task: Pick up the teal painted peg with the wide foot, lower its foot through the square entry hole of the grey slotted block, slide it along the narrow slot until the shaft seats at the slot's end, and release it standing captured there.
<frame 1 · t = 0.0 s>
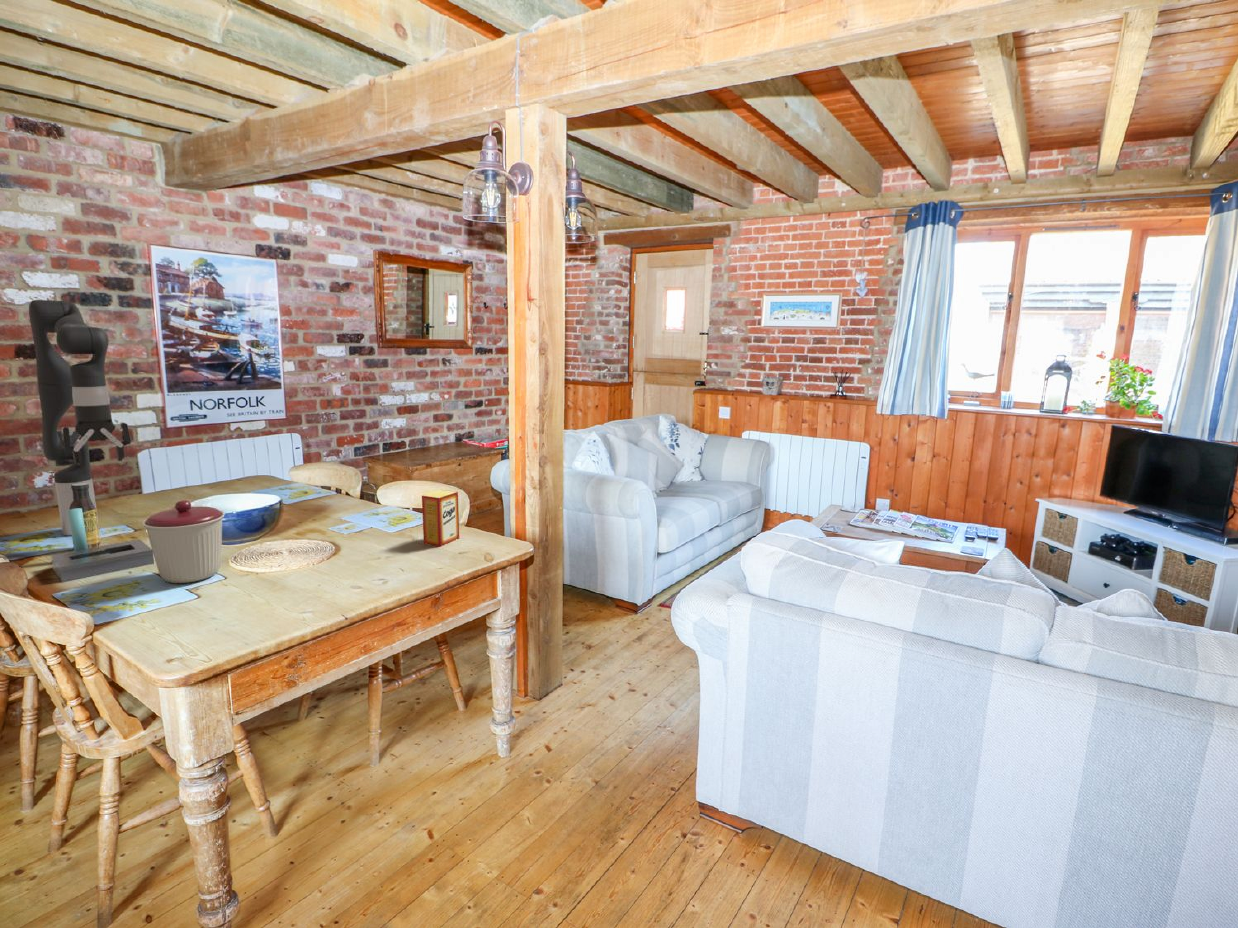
hand: (100, 462, 175), 29 cm above the table, fingers open, 8 cm apart
sauce bottle: (87, 549, 194), on the table
peg: (82, 559, 185), on the table
canister: (191, 577, 173), on the table
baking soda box: (441, 541, 207), on the table
grey slotted block: (104, 566, 180), on the table
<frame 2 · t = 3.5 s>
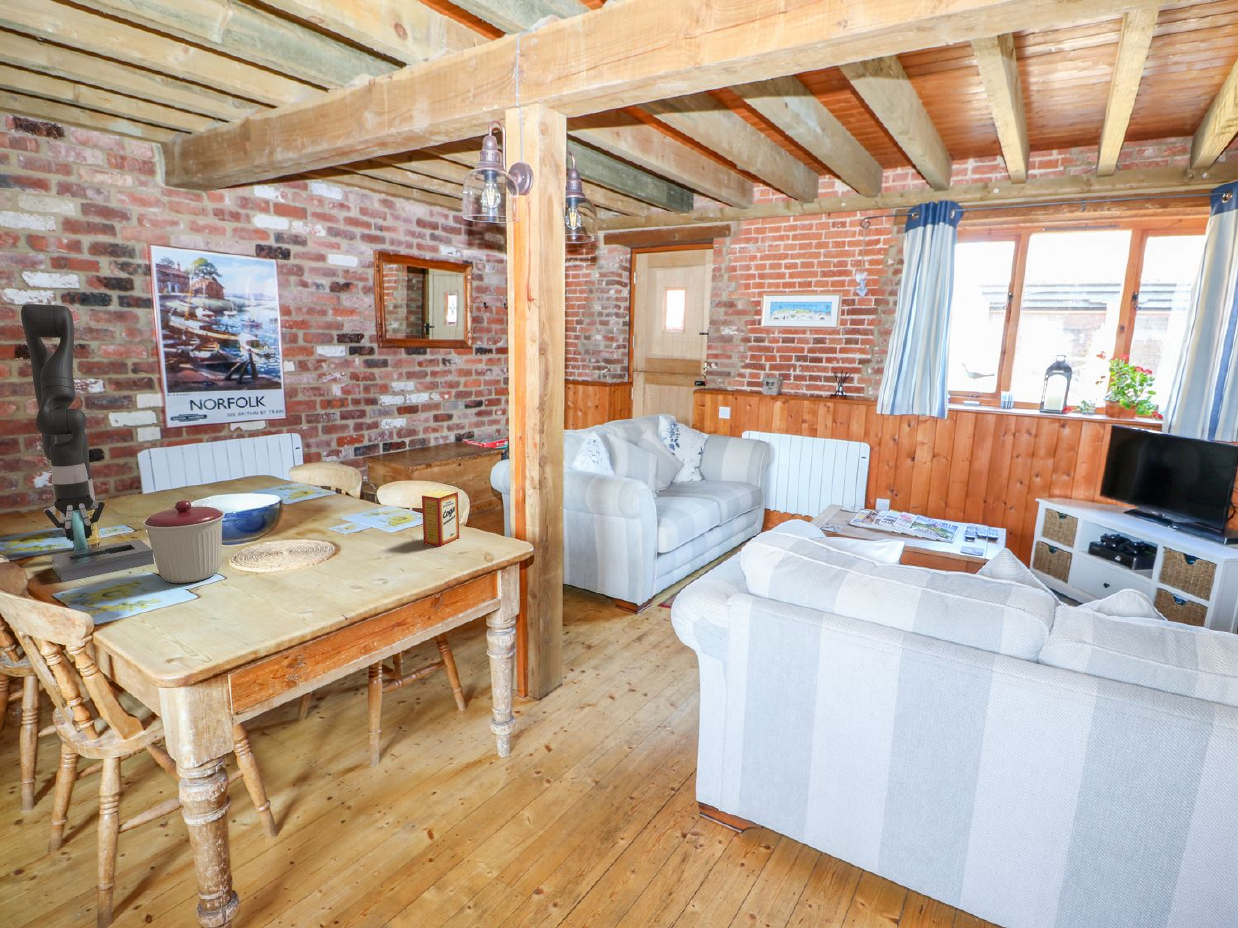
hand: (79, 538, 183), 6 cm above the table, fingers closed on peg, 3 cm apart
peg: (82, 559, 185), on the table, touching gripper
everything else where it was.
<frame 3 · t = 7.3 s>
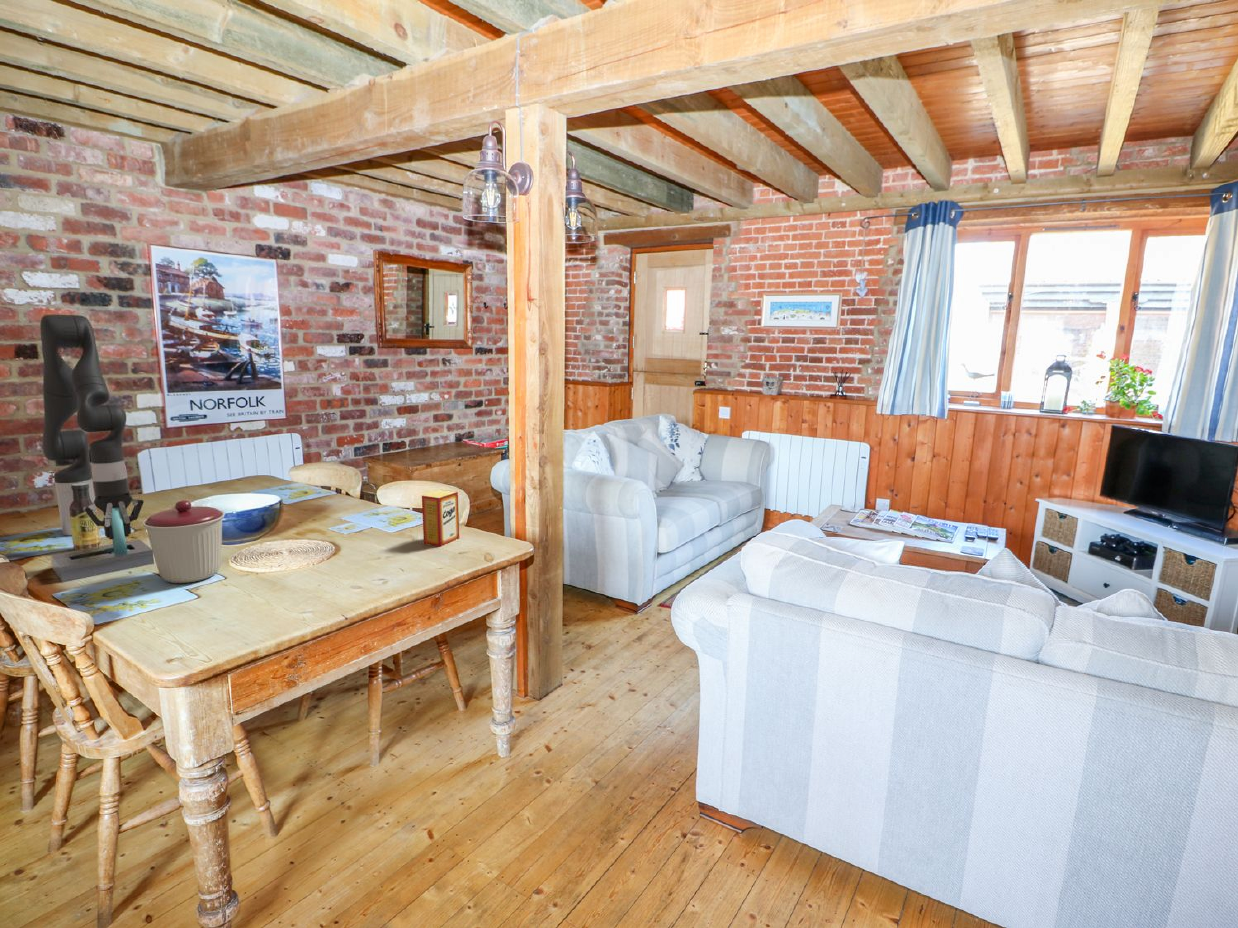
hand: (118, 537, 181), 8 cm above the table, fingers closed on peg, 3 cm apart
peg: (121, 557, 182), point 1 cm above the table, touching gripper
everything else where it was.
when the fingers open (7 cm above the table, at t = 11.1 s): peg stays where it is, resting in grey slotted block.
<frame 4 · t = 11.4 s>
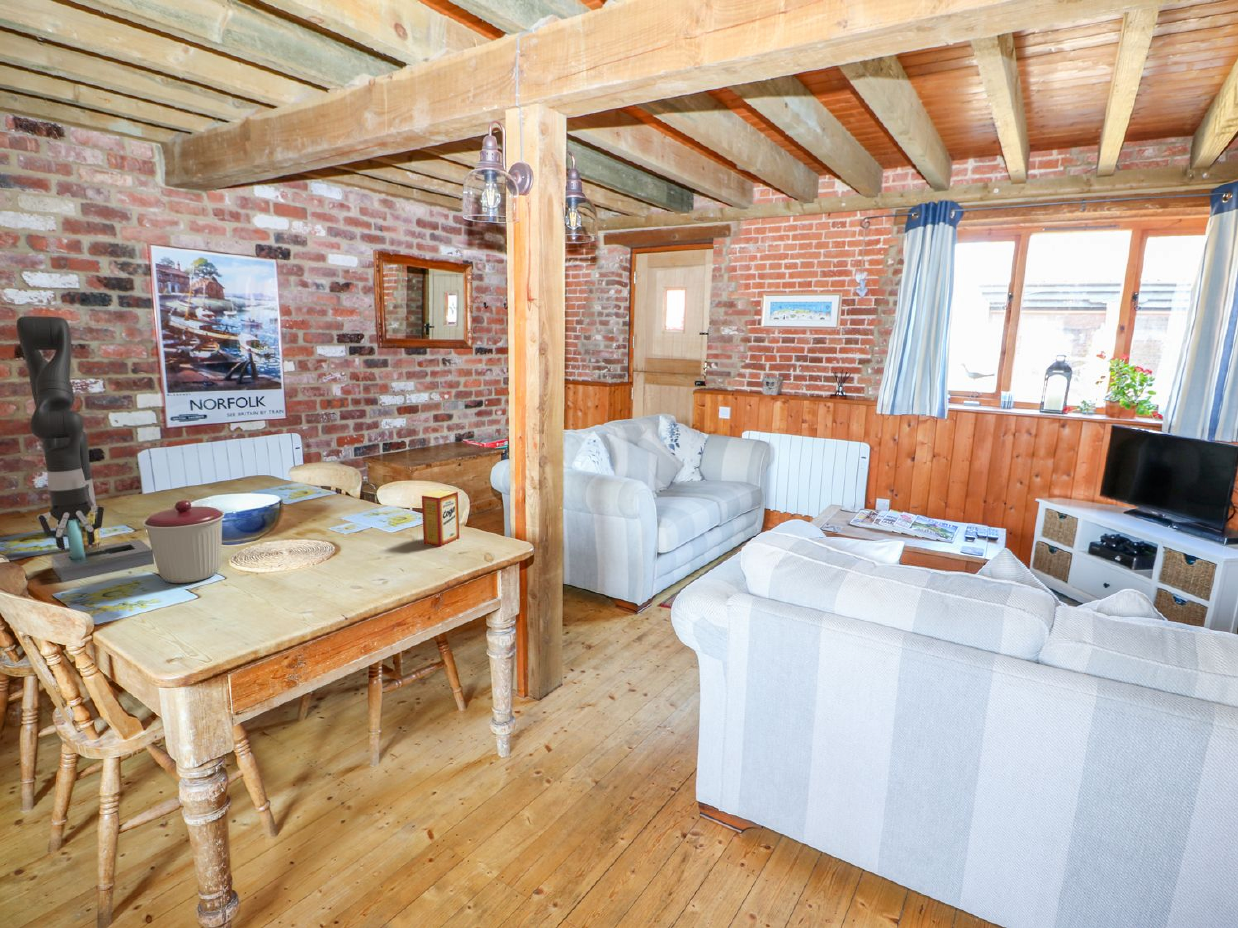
hand: (76, 546, 174), 7 cm above the table, fingers open, 5 cm apart
peg: (80, 570, 176), resting in grey slotted block
everything else where it was.
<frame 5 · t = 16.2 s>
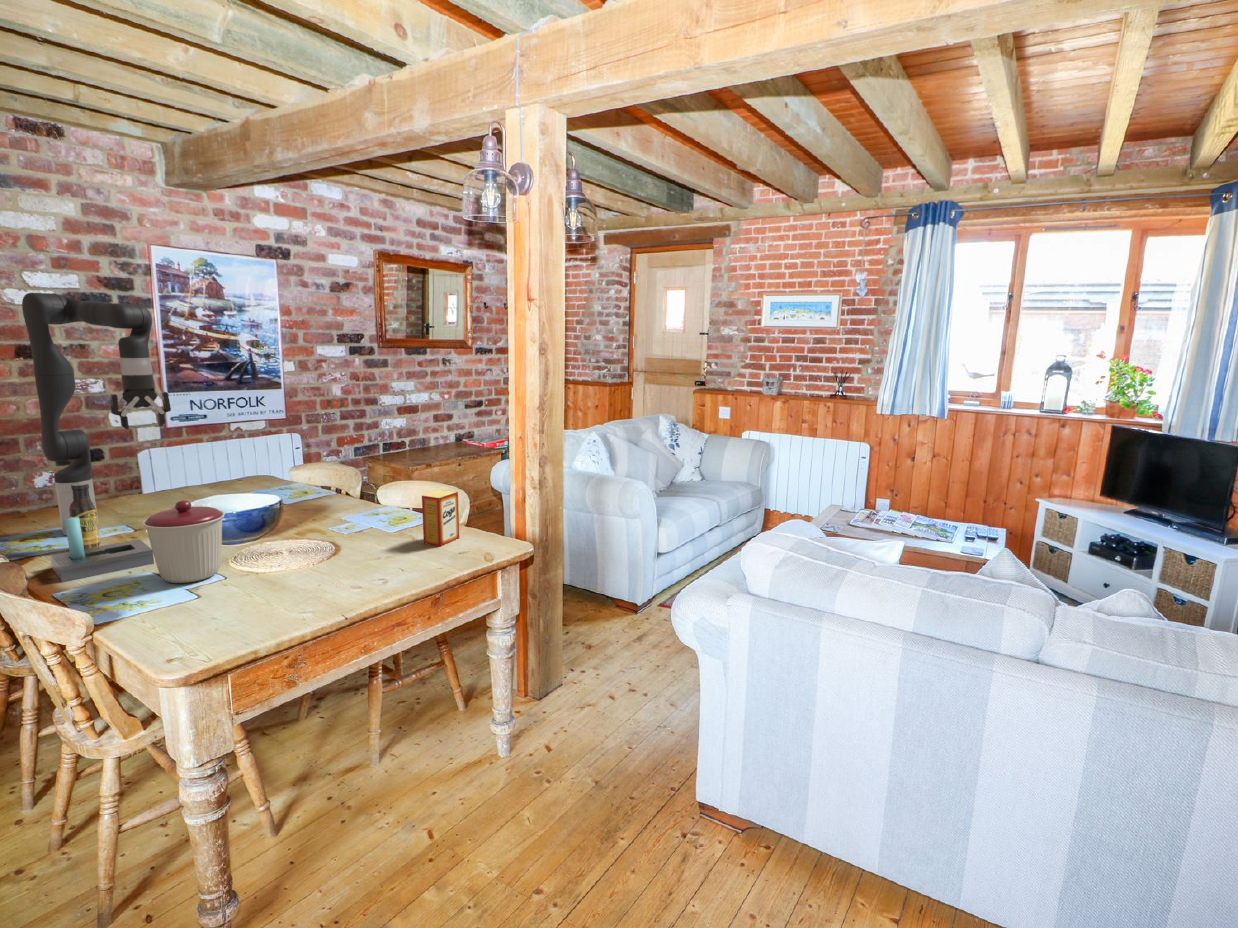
hand: (143, 427, 194), 36 cm above the table, fingers open, 8 cm apart
nothing on the table moved.
at the end: peg 1.0 cm from the target spot on the grey slotted block, point 0.0 cm above the grey slotted block's base; peg tilted 0°; the gripper is holding nothing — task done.
